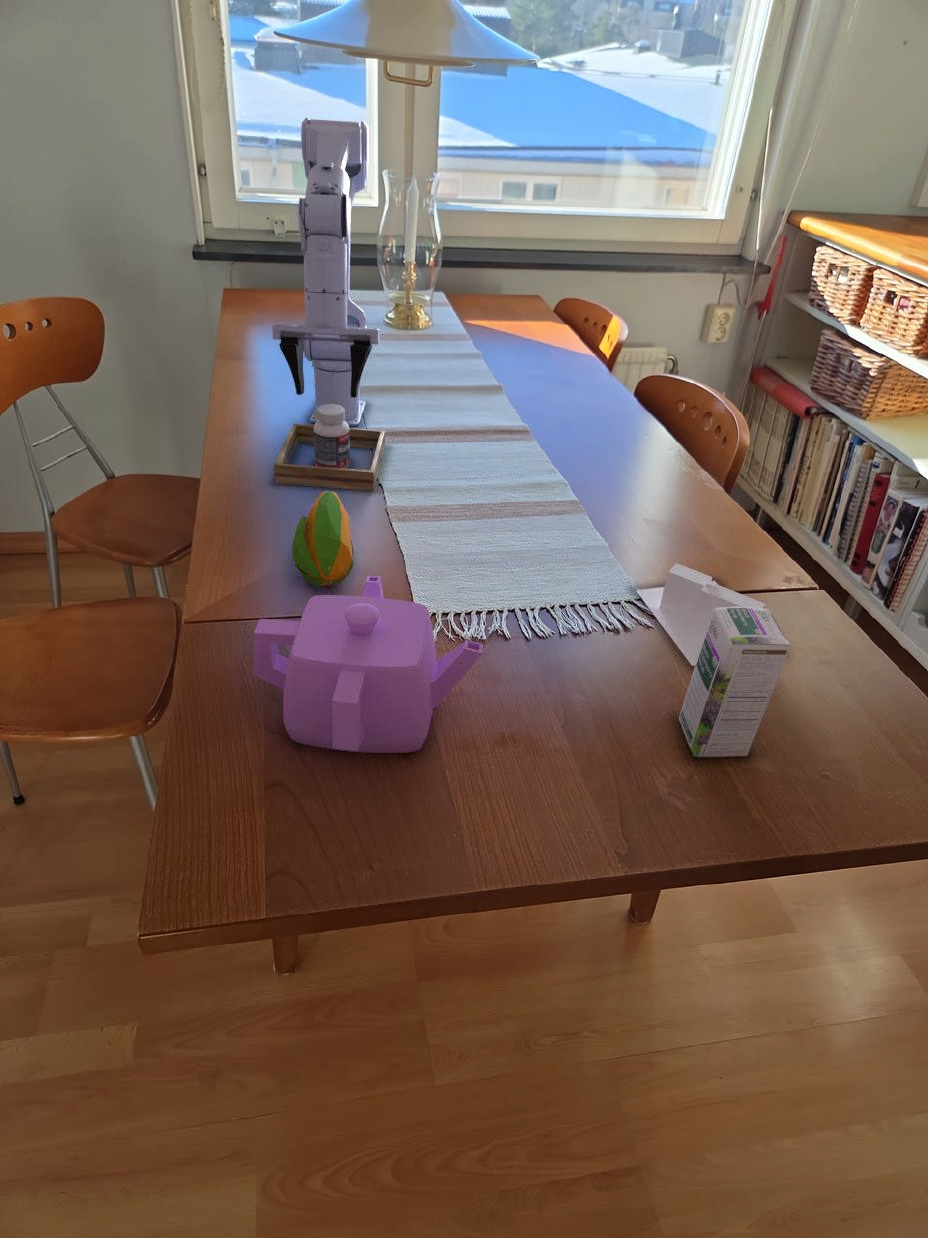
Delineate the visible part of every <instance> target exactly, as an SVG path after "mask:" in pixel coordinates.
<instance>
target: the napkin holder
mask: <svg viewBox="0 0 928 1238" xmlns="http://www.w3.org/2000/svg"><path fill="white" fill-rule="evenodd" d="M635 592H636V593H637V594H638V596H639V597H640V598H641V600H642V601H643V602H644V604H645V606H647V608H648V609H649V610H650V612H651V613H652V615H653V616H654V617H655V618H656V620H657V621H658V622H659V624H660V625H661V626H662V628H663V629H664V631H665V632H666V633H667V635H668V636H669V638H670V639H671V640H672V641H673V642H674V644H675V645H676V646H677V648H678V649H679V651H680V652H681V653H682V655H683V656H684V658H686V660H687V661H688V663H689V664H690V666H692V667H695V665H696V662H697V659H698V656H699V653H700V650H701V647H702V644H703V641H704V637H705V634H706V631H707V628H708V625H709V622H710V619H711V616H712V613H713V609H714V608H720V607H754V608H763V609H766V606H767V605H766V604H767V603H765V602H762V601H760V600H757V599H755V598H753V597H750V596H747V595H745V594H742V593H739V592H737V591H734V590H732V589H729V588H727V587H724V586H721V585H719V584H718V582H716V580H713V576H711V575H708V574H706V573H703V572H701V571H698V570H695V569H692V568H690V567H688V566H685V565H683V564H680V563H678V562H676V563H675V564H674V565H673V566H672V567H671V568H670V569H669V570H668V571H667V576H666V580H665V584H664V586H661V587H651V588H644V589H636V590H635Z"/></svg>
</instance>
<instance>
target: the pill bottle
mask: <svg viewBox="0 0 928 1238" xmlns="http://www.w3.org/2000/svg"><path fill="white" fill-rule="evenodd" d="M317 419H318V421H317V422H316V423H314V424H313V425H314V428H313V433H314V444H313V451H314V452H313V453H314V454H313V455H314V465H315V466H317V467H331V468H345V469H349V467H350V464H351V449H350V448H351V447H350V438H349V428H350V425H348V424H347V423H346V422H345V421H344V420H345V410H344V408H343V407H342V406H339V405H336V404H325V405H321V406H319V407H318V408H317Z"/></svg>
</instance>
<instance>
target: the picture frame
mask: <svg viewBox="0 0 928 1238" xmlns="http://www.w3.org/2000/svg"><path fill="white" fill-rule="evenodd" d="M313 428H314V424H305V423H293V425H292V427H291V428H290V430H289V433H288V435H287V437H286V438H285V441H284V443H283V444H282V448H281V449H280V452H279V454H278V455H277V459H276V460H275V462H274V464H273V469H274V482H275V484H276V485H286V486H287V485H288V486H301V487H302V486H303V487H312V488H313V487H314V488H326V489H327V488H328V489H329V488H330V489H341V490H356V491H369V492H374V491H375V488H376V484H377V480H378V476H379V472H380V468H381V464H382V461H383V456H384V452H385V447H386V445H385V444H386V441H385V440H386V431H385V429H372V428H357V427H349V438H350V448H359V449H372V450H374V449H375V450H374V451H375V452H374V455H373V458H372V462H371V466H370V469H355V468H347V469H345V468H331V467H317V466H314V465H313V466H312V465H304V464H302V465H301V464H290V461H291V459H292V457H293V455H294V453H295V451H296V448H297V447H298V446H297V445H298V444H307V445H314V433H313Z"/></svg>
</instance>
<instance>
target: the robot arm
mask: <svg viewBox="0 0 928 1238" xmlns="http://www.w3.org/2000/svg"><path fill="white" fill-rule="evenodd" d="M300 141H301V155H302V160H303V167H304V174H305V177H306V180H307V181H306V188H305V195H304V197H299V199H298V204H297V206H298V207H297V219H298V231H299V235H300V236H299V237H300V245H301V247H300V249H301V255H303V284H304V285H303V286H304V287H303V288H304V290H303V291H304V292H303V293H304V323H303V324H290V323H289V324H286V323H273V324H272V326H271V328H272V340H280V342H279V344H278V345H279V349H280V350H281V353H282V354H283V356H284V359H285V361H286V363H287V365H288V368H289V370H290V374H291V377H292V379H293V383H294V388H295V393H296V396H302V395H304V394H305V379H304V378H305V376H304V358H305V359H306V360H307V361H308V362H311V367H312V368H313V374H314V375H313V376H314V396H315V397H314V398H315V399H314V400H315V407H314V410H313V411H312V414H311V416H310V418H309V422H310V423H312V424H313V423H314V424H315V423H316V422H317V421H318V419H317V408H318V407H319V406H321V405H325V404H336V405H339V406H342V407H343V408H344V410H345V420H344V421H345V422H346V423H347V424H348V425H349V426H354V427H357V426H359V425H360V422H361V418H362V416H363V414H364V413H363V412H364V410H365V407H366V401H365V400H361V399H360V398H361V397H360V395H361V394H360V393H361V392H360V389H361V388H360V387H361V386H360V383H361V379H362V375H363V372H364V369H365V365H366V363H367V361H368V359H369V356H370V354H371V352H372V349H373V345H379V344H380V335H381V334H380V333H381V332H380V328H369V327H367V315H365V311H364V310H363V309H361V308H360V307H359V306H358V305H357V304H355V302H353V301H352V300H351V298H350V297H351V296H350V295H351V294H350V292H351V291H350V286H351V284H350V283H351V281H350V280H351V218H352V216H351V214H352V208H353V203H354V199H355V195H356V194H357V193H359V192H360V191H363V190H364V189H365V188H366V186H367V185H366V182H367V181H368V168H369V167H368V166H369V126H368V124H367V123H366V122H365V120H364V121H363V120H361V121H360V122H359V121H346V120H345V121H344V120H331V119H329V120H328V119H314V118H313V119H312V118H310V117H304V119H303V121H301V127H300Z"/></svg>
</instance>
